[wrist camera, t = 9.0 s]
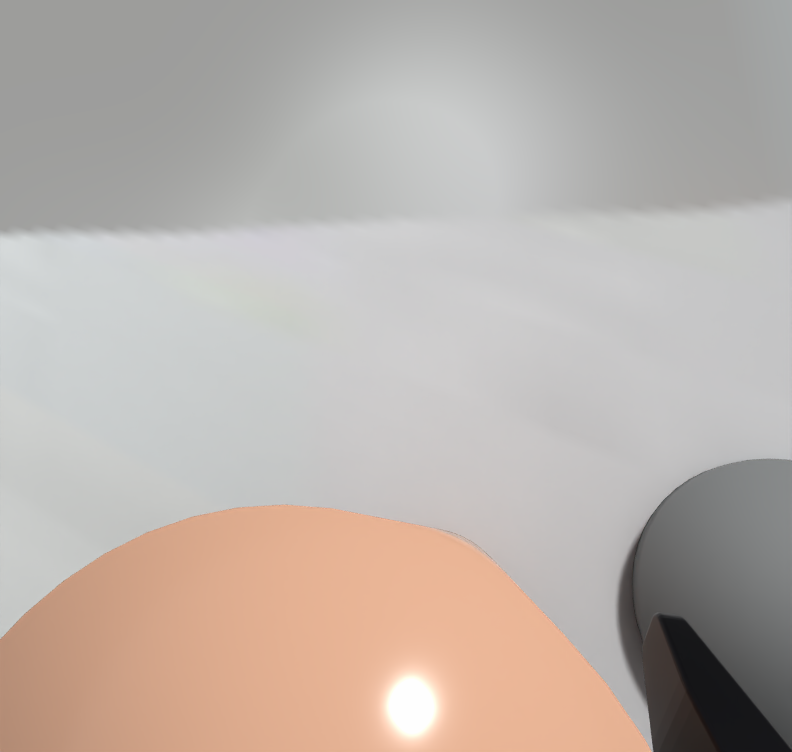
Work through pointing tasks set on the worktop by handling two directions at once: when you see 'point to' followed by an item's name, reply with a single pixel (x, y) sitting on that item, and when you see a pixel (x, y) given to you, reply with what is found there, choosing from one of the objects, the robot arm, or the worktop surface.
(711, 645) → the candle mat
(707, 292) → the worktop surface
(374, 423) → the worktop surface
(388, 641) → the post
